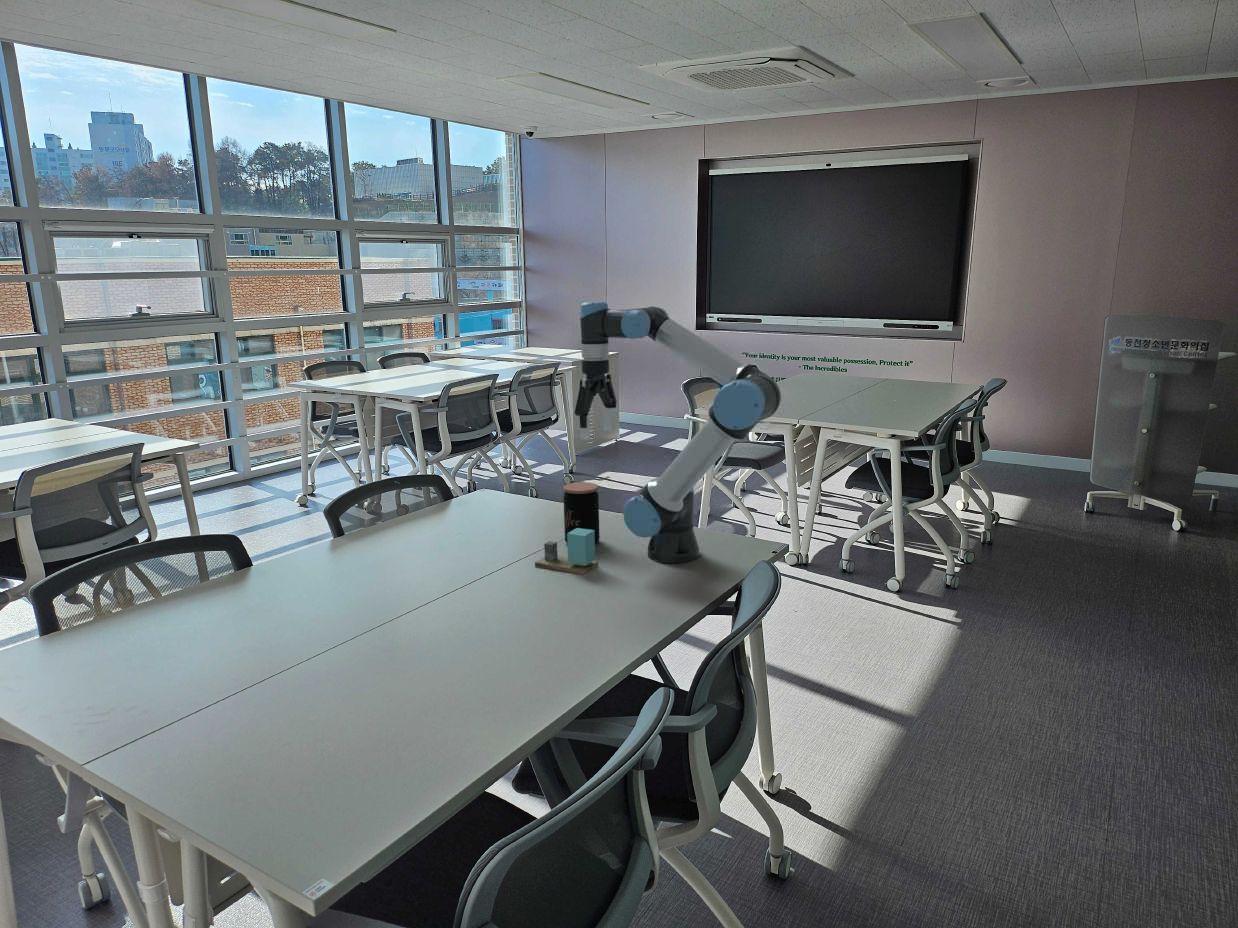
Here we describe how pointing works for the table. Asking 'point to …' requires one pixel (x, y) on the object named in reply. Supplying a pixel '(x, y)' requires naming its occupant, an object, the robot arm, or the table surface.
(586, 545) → the teal rectangular block
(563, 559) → the stand
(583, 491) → the coffee jar
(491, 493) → the table surface
